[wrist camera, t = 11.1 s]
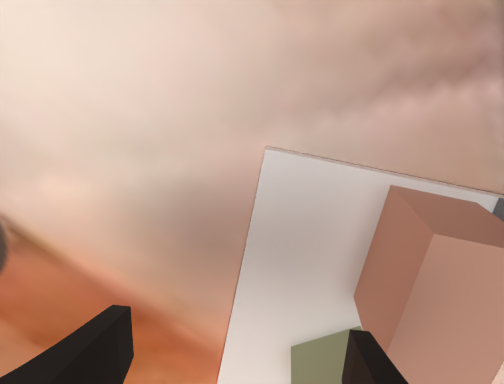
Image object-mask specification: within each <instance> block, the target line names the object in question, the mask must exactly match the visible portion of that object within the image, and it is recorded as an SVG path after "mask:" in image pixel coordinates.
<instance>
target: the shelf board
mask: <svg viewBox="0 0 504 384" xmlns="http://www.w3.org/2000/svg"><path fill="white" fill-rule="evenodd" d="M390 185H395V186H400V187H404V188H409V189H414V190H419V191H424V192H428V193H433V194H438V195H443V196H448V197H452V198H457V199H462V200H467V201H472V202H476V203H478V204H480V205H481V206H482V207H484V208H485V209H487V210H488V211H489V212H491V213H492V214H494V215H495V216H496V217H498V218H499V219H501V220H502V221H504V195H501V194H496V193H491V192H486V191H481V190H477V189H472V188H467V187H462V186H457V185H452V184H448V183H443V182H438V181H433V180H428V179H424V178H419V177H414V176H409V175H404V174H399V173H395V172H390V171H385V170H380V169H375V168H370V167H366V166H361V165H356V164H351V163H346V162H342V161H337V160H332V159H327V158H322V157H317V156H313V155H308V154H303V153H298V152H293V151H288V150H284V149H279V148H274V147H269V146H266V148H265V153H264V158H263V163H262V168H261V173H260V178H259V182H258V187H257V192H256V197H255V202H254V207H253V212H252V216H251V221H250V226H249V231H248V236H247V241H246V246H245V251H244V255H243V260H242V265H241V270H240V275H239V280H238V285H237V289H236V294H235V299H234V304H233V309H232V314H231V319H230V324H229V328H228V333H227V338H226V343H225V348H224V353H223V358H222V362H221V367H220V372H219V377H218V382H217V384H291V346H294V345H298V344H301V343H304V342H308V341H311V340H314V339H318V338H321V337H324V336H327V335H331V334H334V333H337V332H341V331H344V330H347V329H351V328H354V327H357V326H361V328H362V325H361V322H360V318H359V315H358V311H357V308H356V304H355V301H354V297H353V296H354V293H355V290H356V287H357V284H358V281H359V278H360V275H361V272H362V269H363V266H364V263H365V260H366V257H367V254H368V251H369V248H370V245H371V242H372V239H373V236H374V233H375V230H376V227H377V224H378V221H379V218H380V215H381V212H382V209H383V206H384V203H385V200H386V197H387V194H388V191H389V188H390ZM362 330H363V329H362Z"/></svg>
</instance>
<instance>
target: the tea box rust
mask: <svg viewBox="0 0 504 384" xmlns="http://www.w3.org/2000/svg"><path fill="white" fill-rule="evenodd" d="M353 297H354V301H355V304H356V308H357V311H358V315H359V318H360V322H361V325H362V329H363V331H369V332H370V333H371V334H372V335H373V337H374V338H375V339H376V341H377V342H378V344H379V345H380V346H381V348H382V349H383V351H384V352H385V353H386V355H387V356H388V357H389V359H390V360H391V361H392V363H393V364H394V365H395V367H396V368H397V369H398V371H399V372H400V373H401V374H402V376H403V377H404V378H405V379H406V381H407V382H408V383H409V384H491V383H492V382H493V380H494V378H495V376H496V374H497V372H498V370H499V368H500V367H501V365H502V363H503V361H504V221H502V220H501V219H499V218H498V217H496V216H495V215H494V214H492V213H491V212H489V211H488V210H487V209H485V208H484V207H482V206H481V205H480V204H478V203H476V202H472V201H467V200H462V199H457V198H452V197H448V196H443V195H438V194H433V193H428V192H424V191H419V190H414V189H409V188H404V187H400V186H395V185H390V188H389V191H388V194H387V197H386V200H385V203H384V206H383V209H382V212H381V215H380V218H379V221H378V224H377V227H376V230H375V233H374V236H373V239H372V242H371V245H370V248H369V251H368V254H367V257H366V260H365V263H364V266H363V269H362V272H361V275H360V278H359V281H358V284H357V287H356V290H355V293H354V296H353Z"/></svg>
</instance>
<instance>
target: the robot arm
mask: <svg viewBox="0 0 504 384" xmlns="http://www.w3.org/2000/svg"><path fill="white" fill-rule="evenodd" d="M133 357H134V352H133V338H132V323H131V308H130V307H129V306H119V305H112V306H110V307H109V308H107V309H106V310H104V311H103V312H101V313H100V314H99V315H97V316H96V317H94V318H93V319H91V320H90V321H89V322H87V323H86V324H84V325H83V326H82V327H80V328H79V329H77V330H76V331H74V332H73V333H71V334H70V335H69V336H67V337H66V338H64V339H63V340H61V341H60V342H58V343H57V344H55V345H54V346H52V347H51V348H49V349H47V350H46V351H44V352H43V353H41V354H40V355H38V356H36V357H35V358H33V359H32V360H30V361H28V362H27V363H25V364H24V365H22V366H20V367H18V368H17V369H15V370H13V371H11V372H10V373H8V374H6V375H4V376H2V377H1V378H0V384H123V382H124V380H125V377H126V375H127V372H128V370H129V367H130V365H131V362H132V359H133ZM341 380H342V384H409V383H408V382H407V381H406V379H405V378H404V377H403V376H402V374H401V373H400V372H399V371H398V369H397V368H396V367H395V365H394V364H393V363H392V361H391V360H390V359H389V357H388V356H387V355H386V353H385V352H384V351H383V349H382V348H381V346H380V345H379V344H378V342H377V341H376V339H375V338H374V337H373V335H372V334H371V333H370V332H369V331H362V330H352V329H350V331H349V337H348V343H347V349H346V355H345V361H344V367H343V373H342V379H341Z"/></svg>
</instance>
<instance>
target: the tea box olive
mask: <svg viewBox="0 0 504 384" xmlns="http://www.w3.org/2000/svg"><path fill="white" fill-rule="evenodd" d="M351 329H352V330H362V328H361V326H357V327H354V328H351ZM349 331H350V329H347V330H344V331H341V332H337V333H334V334H331V335H327V336H324V337H321V338H318V339H314V340H311V341H308V342H304V343H301V344H298V345H294V346H291V384H342V380H341V379H342V373H343V367H344V361H345V355H346V349H347V343H348V337H349ZM362 331H363V330H362Z"/></svg>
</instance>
